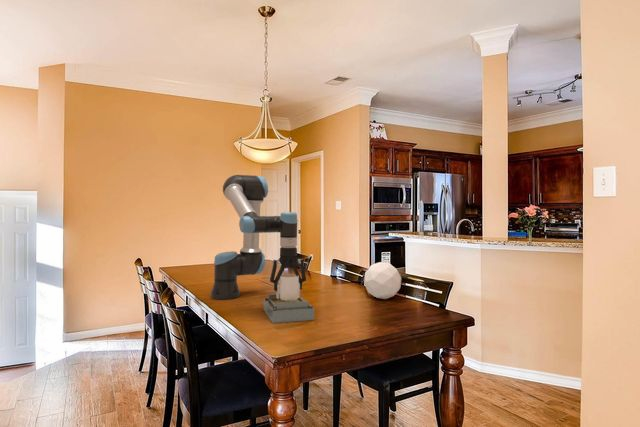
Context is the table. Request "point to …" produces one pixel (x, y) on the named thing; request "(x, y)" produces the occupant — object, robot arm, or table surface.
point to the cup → (289, 287)
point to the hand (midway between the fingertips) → (288, 297)
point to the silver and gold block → (287, 309)
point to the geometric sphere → (382, 280)
